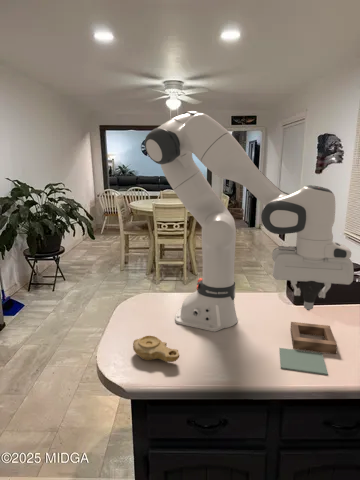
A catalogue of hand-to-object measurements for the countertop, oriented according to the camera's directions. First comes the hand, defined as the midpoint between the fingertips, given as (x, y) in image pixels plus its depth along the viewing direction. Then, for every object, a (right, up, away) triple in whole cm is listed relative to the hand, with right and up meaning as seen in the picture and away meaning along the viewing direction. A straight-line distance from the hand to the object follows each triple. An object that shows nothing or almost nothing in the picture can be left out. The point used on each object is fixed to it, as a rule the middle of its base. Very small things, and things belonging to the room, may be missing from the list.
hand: (309, 296), depth 90 cm
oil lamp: (-43, -19, +5) cm, 47 cm away
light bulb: (0, -4, +1) cm, 4 cm away
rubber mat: (-1, -19, +3) cm, 19 cm away
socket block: (+6, -17, +13) cm, 22 cm away
